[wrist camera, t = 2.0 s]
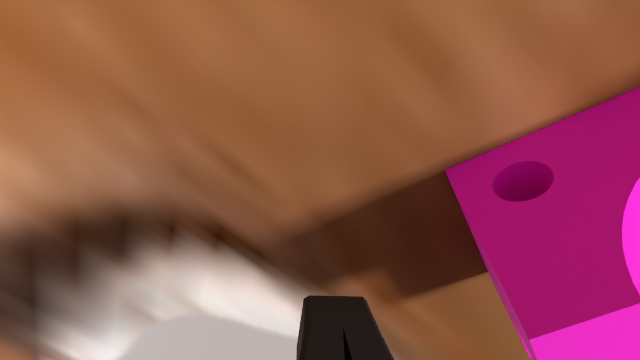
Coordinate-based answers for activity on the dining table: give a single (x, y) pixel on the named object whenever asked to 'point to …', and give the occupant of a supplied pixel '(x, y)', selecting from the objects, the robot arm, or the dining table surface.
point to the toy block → (564, 231)
